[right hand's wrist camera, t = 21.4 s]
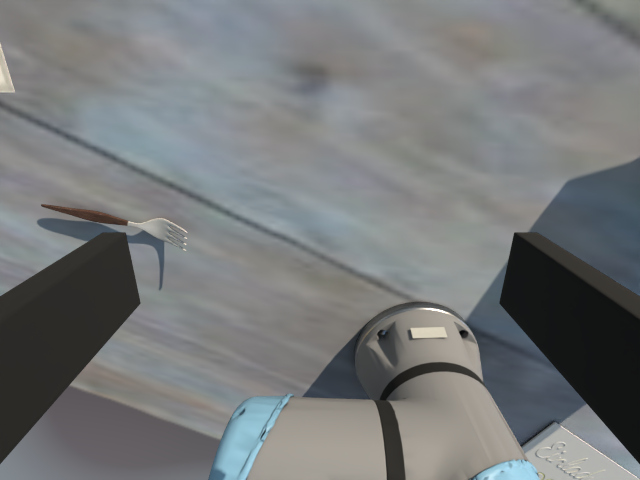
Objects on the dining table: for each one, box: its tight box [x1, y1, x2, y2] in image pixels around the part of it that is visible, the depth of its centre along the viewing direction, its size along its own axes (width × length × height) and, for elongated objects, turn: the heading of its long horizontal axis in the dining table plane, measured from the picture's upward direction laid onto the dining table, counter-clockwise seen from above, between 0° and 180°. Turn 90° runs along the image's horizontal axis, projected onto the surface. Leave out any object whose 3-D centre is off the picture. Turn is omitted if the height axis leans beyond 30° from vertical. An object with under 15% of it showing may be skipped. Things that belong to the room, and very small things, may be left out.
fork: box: [41, 204, 188, 251], centre depth 39 cm, size 3×16×2 cm, turn 76°
